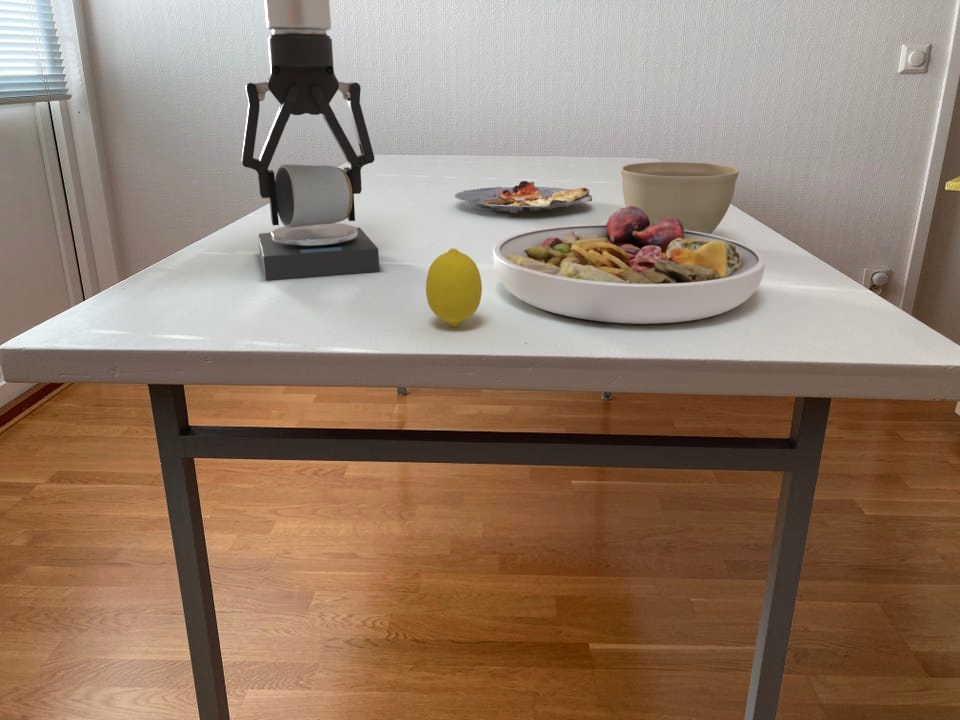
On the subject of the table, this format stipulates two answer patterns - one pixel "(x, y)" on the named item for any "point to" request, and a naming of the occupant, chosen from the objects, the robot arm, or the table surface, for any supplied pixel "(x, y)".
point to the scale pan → (315, 234)
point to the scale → (317, 258)
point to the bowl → (628, 270)
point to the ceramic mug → (312, 195)
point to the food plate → (524, 197)
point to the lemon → (453, 287)
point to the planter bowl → (681, 192)
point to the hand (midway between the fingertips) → (313, 221)
